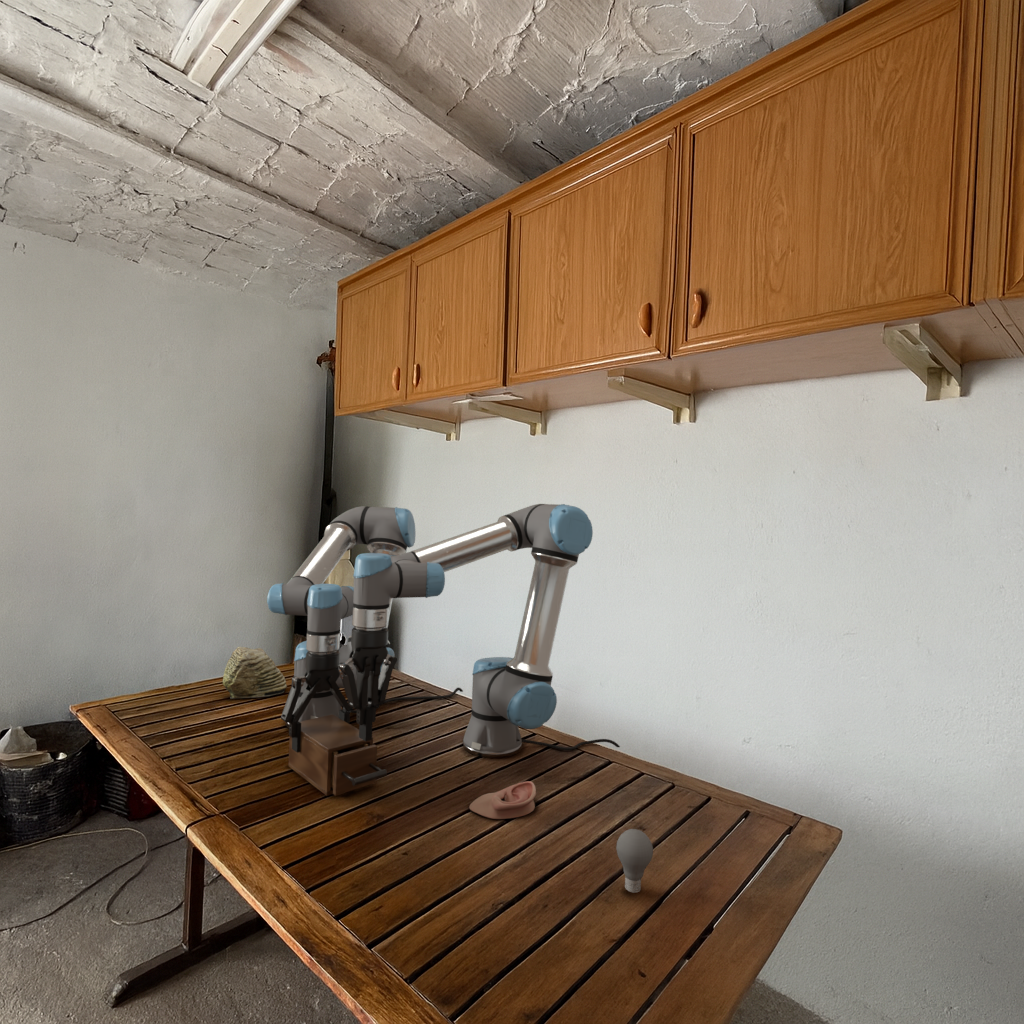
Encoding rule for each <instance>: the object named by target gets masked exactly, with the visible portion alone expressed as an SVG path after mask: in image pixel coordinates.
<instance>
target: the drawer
mask: <svg viewBox="0 0 1024 1024" xmlns="http://www.w3.org/2000/svg"><path fill="white" fill-rule="evenodd" d="M377 760H378V745H376V744H373V745H370V746H368V744H367V743H364V744H360V745H356V746H352V747H349V748H345V749H341V750H337V751H334V752H332V760H331V786H330V787H331V788H333V794H332V795H333V796H339V795H343V794H346V793H348V792H352V791H355V790H358V789H362V788H364V787H367V786H370V785H374V784H376V783H377V780H379V779H382V778H385V777H387V775H388V771H387V769H385V768H383V769H381V768H380V767H379V766H377Z"/></svg>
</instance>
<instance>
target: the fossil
mask: <svg viewBox="0 0 1024 1024" xmlns="http://www.w3.org/2000/svg"><path fill="white" fill-rule="evenodd" d="M222 676H223V677H222V685H223V687H224V688H225V690H226V691H228V693H229V698H230V699H250V698H264V697H271V696H275V695H281V694H284V693H285V691H286V689H287V687H288V686H287V680H286V678H285V676H284V674H283V673H282V672H281V669H279V668H278V667H277V665H276V663H275V662H274V660H273V659H272V658H271V657H270V656H269V655H268V654H267V653H266V652H265V650H264V649H263V648H260V647H258V648H251V647H247V646H246V647H245V646H238V647H237V648H236V649H235V650H233V651H232V653H231V656H230V657H229V659H228V660H227V663H226V666H225V668H224V671H223V675H222Z"/></svg>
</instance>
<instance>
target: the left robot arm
mask: <svg viewBox="0 0 1024 1024" xmlns="http://www.w3.org/2000/svg"><path fill="white" fill-rule="evenodd" d="M415 542H416V523H415V519H414V515H413V513H412V511H411V510H410V509H408V508H404V507H403V508H402V507H397V506H394V507H390V506H389V507H388V506H386V507H385V506H368V505H361V506H356V507H352V508H350V509H348V510H346V511H344V512H342V513H340V515H339V514H338V516H337V517H335V518H333V520H332V521H331V522H329V524H327V526H326V527H325V530H324V533H323V537H322V539H320V541H319V542H318V544H317V545H316V546H315V547H314V549H312V551H311V553H310V554H309V555H308V556H307V558H306V559H305V560H304V561H303V563H302V564H301V565H300V567H299V568H298V569H297V570H296V571H295V573H294V575H292V576H291V578H290V579H289V580H288V582H287V583H284V582H282V583H275V584H273V585H271V587H270V589H269V590H268V593H267V597H266V602H267V607H268V609H269V611H270V612H271V613H273V614H279V615H285V616H302V617H304V616H305V617H307V624H306V626H307V628H306V640H304V641H302V642H299V643H298V644H297V645H296V647H295V652H294V653H295V654H294V659H293V661H294V672H293V676H292V678H291V687H290V689H289V693H288V696H287V699H286V701H285V704H284V707H283V710H282V712H281V716H280V719H281V721H283V722H284V723H285V726H286V728H287V729H288V737H289V738H290V737H292V749H293V750H294V751H296V752H300V742H301V723H300V722H301V721H305V720H310V719H314V718H319V717H323V716H328V715H332V714H333V715H334V716H336V717H338V718H340V719H341V720H343V721H345V722H347V723H348V724H350V723H351V714H357V709H354V708H353V707H351V706H349V704H348V699H347V698H346V697H347V694H346V689H345V683H344V678H343V673H342V671H341V670H340V668H339V664H340V663H344V662H346V661H347V660H348V659H349V655H350V653H351V651H352V646H351V635H349V636H348V638H347V643H346V644H341V624H342V622H341V621H342V620H343V619H347V618H349V617H352V613H353V595H354V586H353V585H341V586H340V585H339V584H337V583H336V584H335V583H325V582H326V581H327V579H328V578H329V576H330V575H331V573H332V572H333V571H334V569H335V568H336V567H337V565H338V564H339V563H340V561H341V559H342V558H343V556H344V555H345V553H346V552H348V551H350V550H352V549H354V547H355V546H357V545H366V548H367V550H368V551H369V553H381V554H388V555H395V556H398V555H401V554H404V553H407V551H408V550H407V549H408V548H409V549H410V548H413V546H414V545H415ZM393 599H394V598H390V601H389V604H390V605H389V617H390V615H391V610H392V604H393ZM389 621H390V619H389V620H388V623H389ZM388 627H389V625H388V626H386V628H387V629H388ZM390 645H391V642H390V641H389V640H388V644H387V645H386V648H387V650H388V654H389V655H391V656H393V657H395V652H394V650H393V649H392V648H391V647H390ZM382 665H383V663H382ZM382 665H381V668H382ZM381 668H380V672H381ZM352 671H353V674H354V678H355V684H356V689H357V675H356V668H355V666H354V665H353V670H352ZM379 676H380V675H379ZM340 689H343V690H344V693H345V695H346V697H345V695H344V694H343V692H342V691H341V690H340ZM458 691H459V692H460V693H463V692H464V690H463V689H462V688H461V687H456V688H455V689H454V690H453V691H452V692H451V693H450V694H449V693H448V694H444V695H426V696H425V695H423V696H402V697H401V696H400V697H394V698H393V697H392V698H388V699H385V702H384V703H380V704H379V705H380V706H382V705H385V704H388V703H392V702H399V701H414V700H419V701H420V700H441V699H442V700H443V699H449V698H451V697H453V696H454V695H456V693H457V692H458Z"/></svg>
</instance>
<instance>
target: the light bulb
mask: <svg viewBox="0 0 1024 1024" xmlns="http://www.w3.org/2000/svg"><path fill="white" fill-rule="evenodd" d="M615 849H616V854H617V857H618V859H619V861H620V863H621V865H622V867H623V873H624V874H623V875H624V876H625V878H624V888H625V890H627V891H628V892H630V893H634V894H635V893H639V892H640V891H641V889H642V887H641V886H642V879H643V877H644V875H645V871H646V868H647V867H648V866H649V864H650V863H651V861H652V859H653V855H654V847H653V843H652V841H651V838H649V836H648V835H647V834H646V833H645V832H643V831H642V830H641V829H636V828H629V829H627V830H625V831H623V832H622V833H621V834H620V835H619V837H618V839H617V841H616V847H615Z"/></svg>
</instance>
